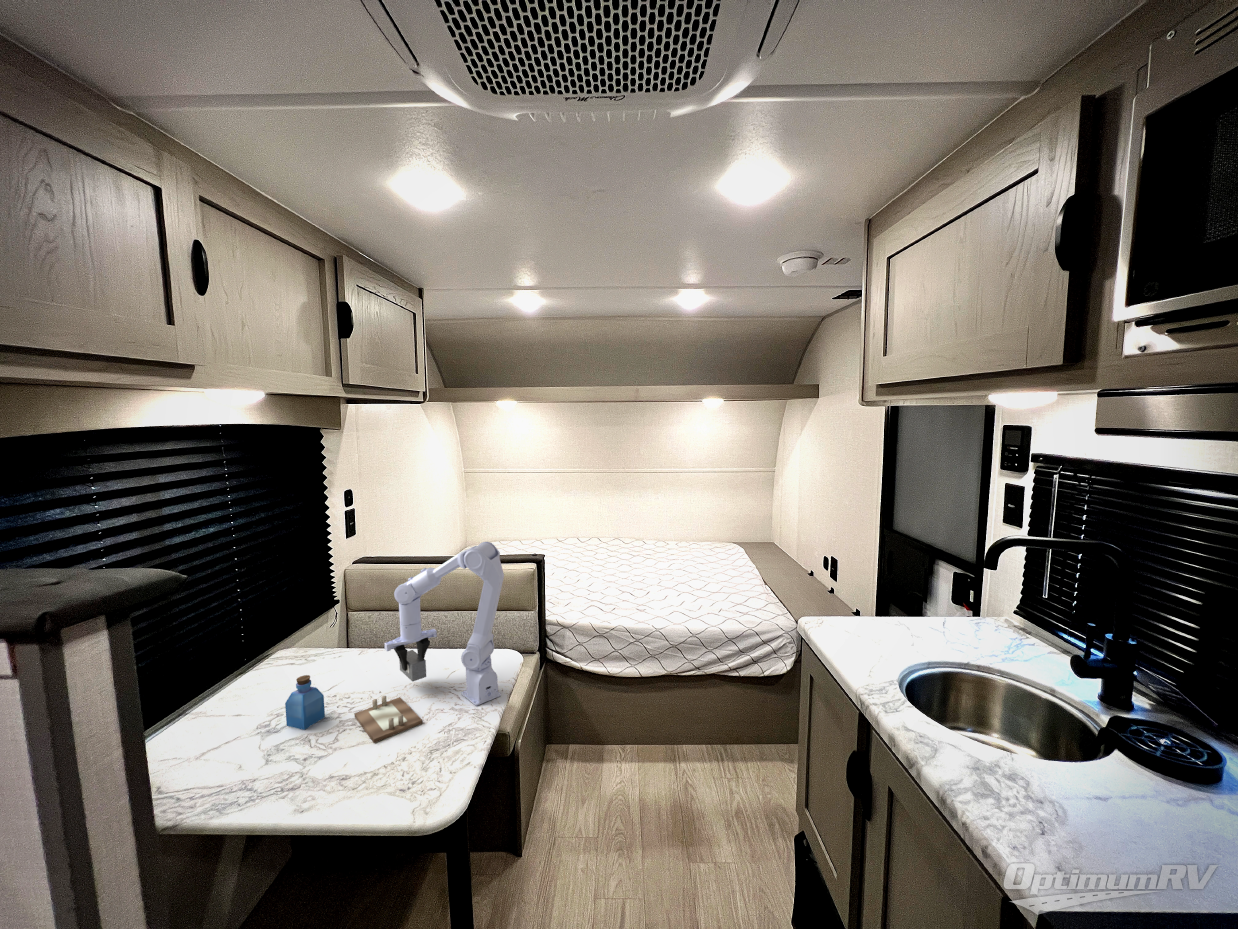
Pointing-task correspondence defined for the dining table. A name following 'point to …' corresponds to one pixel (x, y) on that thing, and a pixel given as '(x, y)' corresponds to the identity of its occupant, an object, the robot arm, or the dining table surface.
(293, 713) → the perfume bottle
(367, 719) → the pin tray
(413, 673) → the block
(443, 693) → the dining table surface
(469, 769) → the dining table surface
